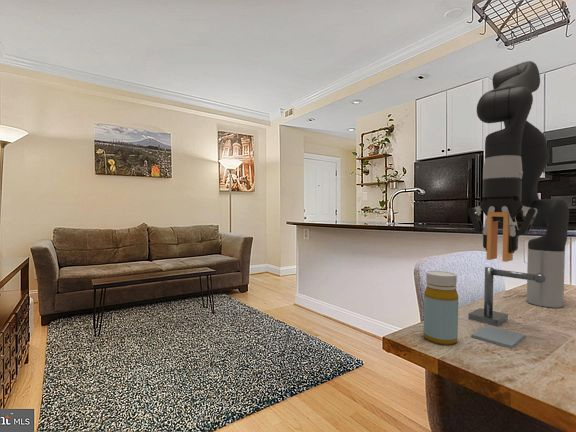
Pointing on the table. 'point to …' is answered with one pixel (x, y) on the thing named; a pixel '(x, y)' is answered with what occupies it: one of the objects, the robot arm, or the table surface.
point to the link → (493, 234)
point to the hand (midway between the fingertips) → (499, 251)
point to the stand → (487, 313)
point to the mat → (498, 336)
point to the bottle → (441, 308)
